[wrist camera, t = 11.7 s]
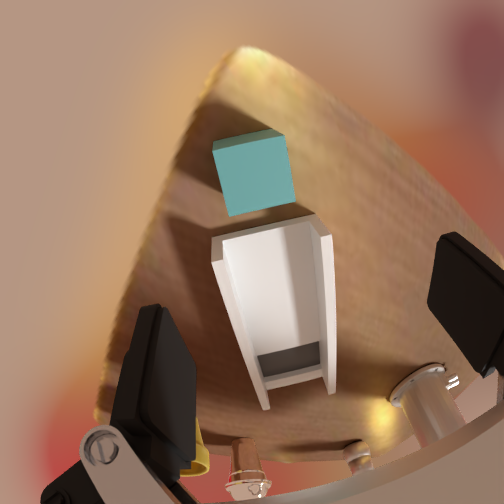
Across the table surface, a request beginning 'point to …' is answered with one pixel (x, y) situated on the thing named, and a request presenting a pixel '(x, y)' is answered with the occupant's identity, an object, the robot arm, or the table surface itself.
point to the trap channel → (281, 301)
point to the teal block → (254, 171)
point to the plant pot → (198, 458)
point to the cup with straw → (246, 471)
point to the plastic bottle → (358, 457)
